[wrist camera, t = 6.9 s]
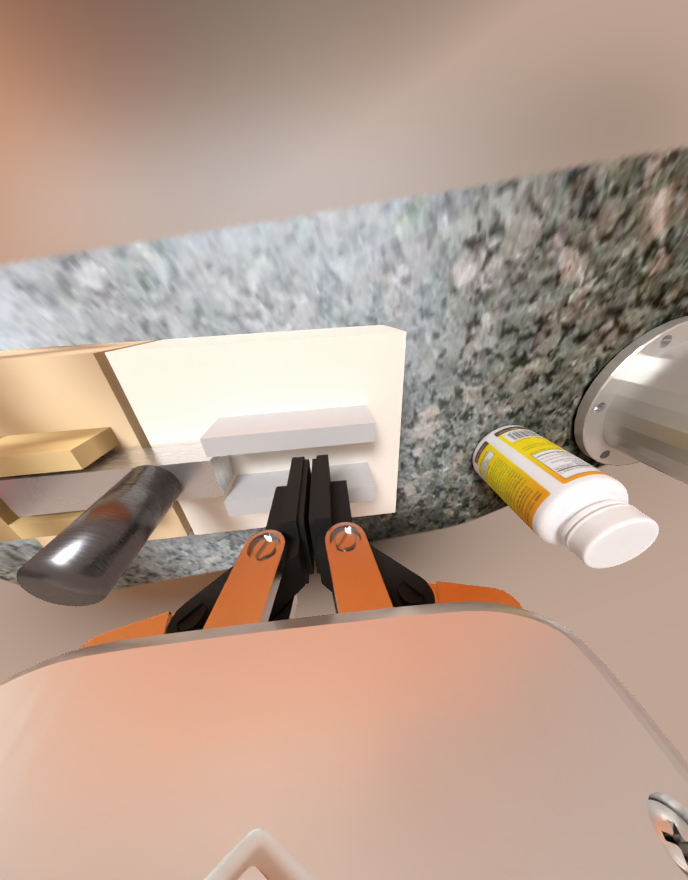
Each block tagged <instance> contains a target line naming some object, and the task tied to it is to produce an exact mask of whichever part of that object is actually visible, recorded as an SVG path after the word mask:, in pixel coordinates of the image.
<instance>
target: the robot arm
mask: <svg viewBox="0 0 688 880" xmlns="http://www.w3.org/2000/svg"><path fill="white" fill-rule="evenodd" d="M574 434H575V440H576V443H577V445H578V447H579V449H580V450H581V451H582V452H583V453H584V454H585V455H587V456H588V457H590V458H592V459H594V460H596V461H597V462H600V463H603V464H606V465H617V466H618V465H628V464H633V463H637V462H642V463H644V464H646V465H649V466H651V467H652V468H654V469H657V470H659V471H661V472H663V473H665V474H667V475H669V476H671V477H673V478H675V479H678V480H680V481H682V482H684V483H686V484H688V316H686V317H682V318H678V319H675V320H672V321H669V322H667V323H665V324H663V325H660V326H658V327H656V328H654V329H652V330H651V331H649V332H647V333H646V334H644V335H642V336H641V337H639V338H637V339H636V340H635V341H633V342H632V343H631V344H630V345H628V346H627V347H626V348H624V349H623V350H622V351H621V352H619V353H618V354H617V355H616V356H615V357H614V358H613V359H612V360H611V361H610V362H609V363H608V364H607V365H606V366H605V367H604V368H603V370H602V371H601V372H600V373H599V374H598V376H597V377H596V378H595V379H594V381H593V382H592V384H591V385H590V387H589V388H588V390H587V392H586V393H585V395H584V397H583V399H582V401H581V403H580V406H579V408H578V411H577V415H576V418H575V426H574ZM314 555H315V561H316V566H317V572H318V573H320V575H321V581H322V584H323V585H324V586H326V587H327V588H328V589H329V590H330V591H331V592H332V596H333V602H334V607H335V613H336V614H331V615H322V616H313V617H305V618H296V619H294V615H295V610H296V606H297V601H298V592H299V591H300V590H301V589H302V588H303V587H304V586H305V584H307V583H309V574H314ZM0 880H688V762H687V761H686V760H685V758H684V757H683V756H682V755H681V754H680V752H679V751H678V750H677V749H676V747H675V746H674V745H673V744H672V743H671V741H670V740H669V739H668V737H667V736H666V735H665V734H664V733H663V731H662V730H661V729H660V728H659V726H658V725H657V724H656V723H655V721H654V720H653V719H652V718H651V717H650V715H649V714H648V713H647V712H646V710H645V709H644V708H643V707H642V706H641V704H640V703H639V702H638V701H637V700H636V699H635V697H634V696H633V695H632V694H631V693H630V692H629V690H628V689H627V688H626V687H625V686H624V685H623V683H622V682H621V681H620V680H619V679H618V678H617V677H616V675H615V674H614V673H613V672H612V671H611V670H610V669H609V668H608V667H607V665H606V664H605V663H604V662H603V661H602V660H601V659H600V658H599V657H598V656H597V655H596V654H595V653H594V652H593V651H592V650H591V649H590V648H589V647H588V646H587V645H586V644H585V643H584V642H583V641H582V640H581V639H580V638H579V637H577V636H576V635H575V634H573V633H572V632H571V631H570V630H568V629H567V628H565V627H564V626H562V625H560V624H559V623H557V622H555V621H553V620H551V619H548V618H546V617H544V616H541V615H539V614H536V613H534V612H531V611H528V610H525V609H523V608H522V607H521V605H520V603H519V602H518V601H517V600H516V599H515V598H514V597H512V596H511V595H510V594H508V593H506V592H505V591H503V590H499V589H496V588H489V587H481V586H473V585H465V584H456V583H449V582H440V581H437V582H436V584H431V583H427V582H426V581H425V580H424V579H422V578H421V577H420V576H418V575H417V574H415V573H413V572H412V571H410V570H409V569H407V568H405V567H404V566H402V565H401V564H399V563H398V562H396V561H395V560H393V559H392V558H390V557H388V556H387V555H385V554H384V553H382V552H380V551H379V550H377V549H376V548H374V547H373V546H371V545H370V544H369V542H368V540H367V537H366V535H365V532H364V531H363V529H362V528H361V527H360V526H358V525H356V524H354V523H352V516H351V509H350V502H349V495H348V488H347V481H346V480H342V481H331V478H330V468H329V458H328V454H326V455H317V457H316V459H312V471H311V468H310V462H309V459H305V457H293V458H292V461H291V466H290V471H289V477H288V482H287V486H278V487H276V489H275V493H274V497H273V501H272V505H271V509H270V513H269V517H268V521H267V525H266V529H265V530H264V531H261V532H258V533H257V534H255V535H253V536H252V537H251V538H250V539H249V540H248V541H247V542H246V544H245V545H244V547H243V549H242V551H241V553H240V555H239V557H238V559H237V561H236V563H235V565H234V566H233V567H231V568H230V569H229V570H227V571H226V572H225V573H224V574H222V575H221V576H220V577H218V578H217V579H216V580H215V581H214V582H212V583H211V584H209V585H208V586H207V587H206V588H204V589H203V590H202V591H201V592H199V593H198V594H196V595H195V596H194V597H193V598H191V599H190V600H189V601H188V602H186V603H185V604H184V605H183V606H182V607H181V608H179V609H178V610H177V612H176V613H173V614H171V612H170V611H168V612H165V613H162V614H159V615H156V616H153V617H150V618H147V619H144V620H141V621H138V622H135V623H132V624H129V625H126V626H123V627H120V628H117V629H114V630H111V631H108V632H105V633H102V634H100V635H98V636H96V637H94V638H92V639H91V640H89V641H88V642H87V643H85V644H84V645H82V646H81V647H80V648H79V649H78V650H75V651H71V652H68V653H65V654H63V655H60V656H57V657H54V658H51V659H49V660H46V661H43V662H41V663H39V664H37V665H35V666H32V667H30V668H28V669H26V670H24V671H22V672H20V673H17V674H15V675H13V676H11V677H9V678H8V679H6V680H4V681H2V682H0Z"/></svg>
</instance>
